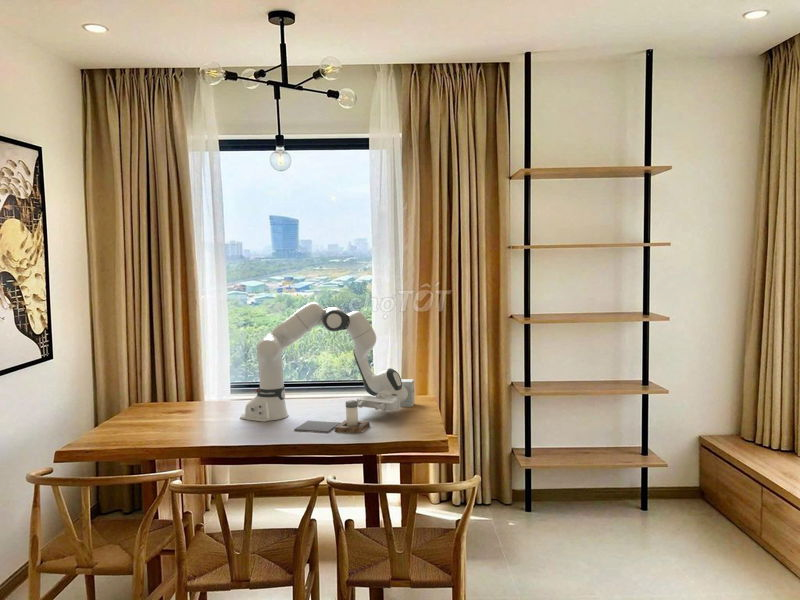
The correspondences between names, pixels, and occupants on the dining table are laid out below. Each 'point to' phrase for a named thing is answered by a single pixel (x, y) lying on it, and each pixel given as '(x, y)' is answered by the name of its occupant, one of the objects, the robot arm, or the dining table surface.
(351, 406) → the cream canister
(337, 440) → the dining table surface
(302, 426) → the grey mat
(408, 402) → the supplement box
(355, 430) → the walnut socket
